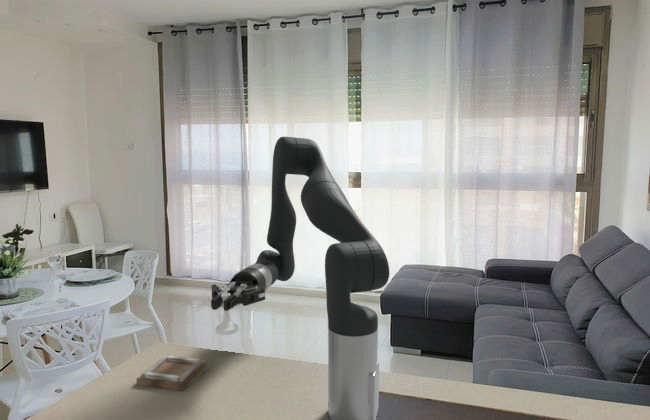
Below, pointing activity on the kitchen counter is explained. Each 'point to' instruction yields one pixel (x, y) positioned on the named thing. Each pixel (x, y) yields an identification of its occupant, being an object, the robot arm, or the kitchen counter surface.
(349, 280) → the robot arm
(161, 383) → the walnut board
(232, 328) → the chess piece
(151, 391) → the kitchen counter surface
